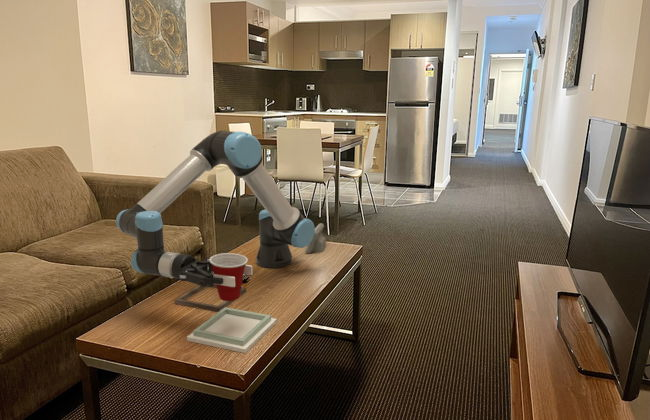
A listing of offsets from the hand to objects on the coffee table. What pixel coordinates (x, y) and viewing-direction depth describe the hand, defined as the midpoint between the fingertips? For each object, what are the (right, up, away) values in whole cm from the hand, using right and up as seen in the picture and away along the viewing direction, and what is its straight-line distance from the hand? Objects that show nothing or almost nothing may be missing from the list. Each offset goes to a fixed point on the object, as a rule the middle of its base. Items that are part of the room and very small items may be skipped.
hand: (243, 276), depth 130 cm
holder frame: (-16, -12, +29) cm, 35 cm away
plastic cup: (-4, -7, +3) cm, 9 cm away
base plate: (-4, -17, +6) cm, 18 cm away
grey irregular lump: (+19, +1, +81) cm, 83 cm away
